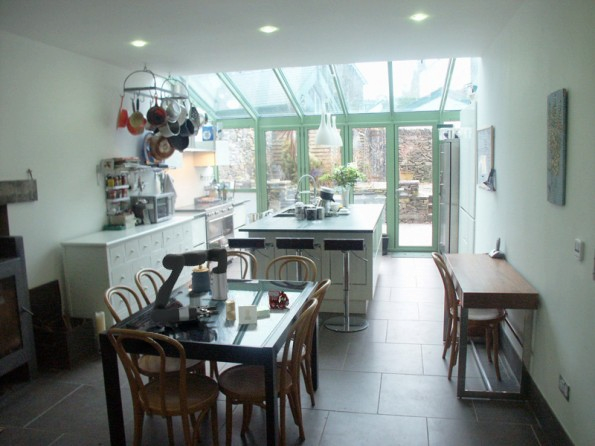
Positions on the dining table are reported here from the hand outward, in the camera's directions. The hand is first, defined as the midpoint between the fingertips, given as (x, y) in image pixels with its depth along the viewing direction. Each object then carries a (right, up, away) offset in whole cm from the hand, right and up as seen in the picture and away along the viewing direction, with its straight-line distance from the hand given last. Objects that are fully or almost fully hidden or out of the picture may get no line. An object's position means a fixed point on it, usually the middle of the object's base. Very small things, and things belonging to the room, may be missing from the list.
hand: (217, 310), depth 276 cm
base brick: (+24, -5, +10) cm, 26 cm away
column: (+7, -5, +3) cm, 10 cm away
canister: (-22, +2, +66) cm, 69 cm away
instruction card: (+18, -6, -5) cm, 19 cm away
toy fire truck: (+33, -3, +22) cm, 40 cm away
